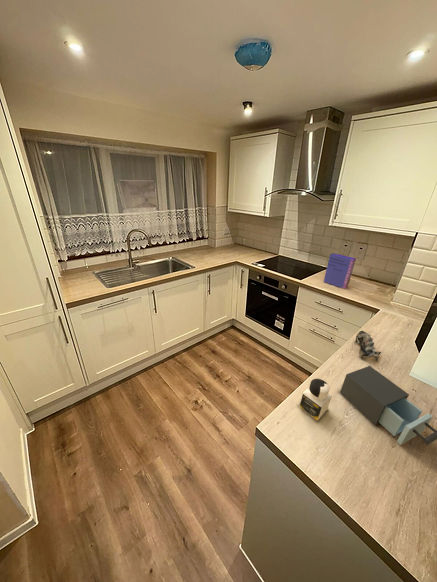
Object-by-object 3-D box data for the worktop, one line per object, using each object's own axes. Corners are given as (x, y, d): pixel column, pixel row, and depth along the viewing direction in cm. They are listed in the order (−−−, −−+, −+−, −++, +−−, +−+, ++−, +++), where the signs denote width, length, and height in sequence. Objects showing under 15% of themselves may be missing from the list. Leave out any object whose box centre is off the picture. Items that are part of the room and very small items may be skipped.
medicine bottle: (298, 406, 85) (305, 382, 79) (309, 396, 89) (316, 372, 84) (317, 421, 80) (325, 396, 74) (327, 409, 84) (335, 385, 79)
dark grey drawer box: (398, 413, 83) (409, 394, 79) (374, 425, 79) (384, 406, 75) (362, 383, 95) (369, 365, 91) (339, 392, 91) (346, 374, 87)
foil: (347, 349, 110) (359, 323, 115) (347, 358, 118) (359, 334, 123) (376, 360, 103) (387, 333, 108) (374, 369, 110) (385, 343, 115)
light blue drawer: (438, 445, 73) (450, 428, 69) (415, 459, 69) (426, 443, 65) (382, 399, 88) (390, 384, 84) (361, 409, 83) (368, 393, 80)
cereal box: (347, 287, 184) (356, 258, 174) (345, 289, 181) (353, 259, 171) (325, 280, 196) (332, 252, 185) (323, 282, 193) (330, 253, 182)
